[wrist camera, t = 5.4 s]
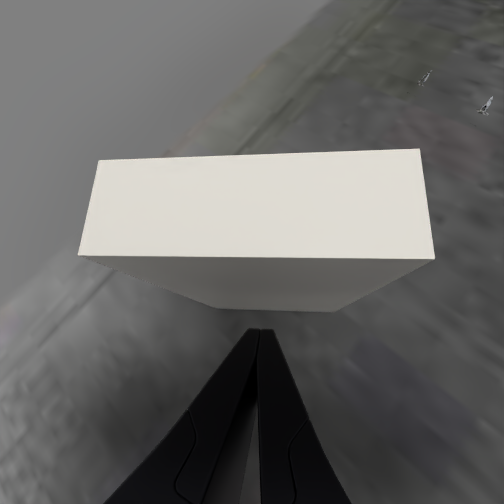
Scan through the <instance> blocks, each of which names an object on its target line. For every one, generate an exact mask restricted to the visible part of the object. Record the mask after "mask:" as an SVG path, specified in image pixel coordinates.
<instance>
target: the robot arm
mask: <svg viewBox="0 0 504 504" xmlns="http://www.w3.org/2000/svg"><path fill="white" fill-rule="evenodd" d="M257 403H258V433H259V462H260V492H261V504H351V502H350V500H349V499H348V497H347V495H346V493H345V491H344V489H343V488H342V486H341V484H340V482H339V480H338V478H337V477H336V475H335V473H334V471H333V469H332V467H331V465H330V463H329V461H328V459H327V457H326V455H325V453H324V451H323V449H322V446H321V444H320V442H319V440H318V437H317V435H316V433H315V430H314V428H313V425H312V423H311V421H310V420H309V416H308V413H307V411H306V408H305V406H304V404H303V401H302V399H301V396H300V394H299V391H298V389H297V386H296V384H295V381H294V379H293V376H292V374H291V371H290V369H289V366H288V364H287V362H286V359H285V357H284V354H283V352H282V349H281V347H280V344H279V342H278V339H277V337H276V334H275V332H274V330H273V329H261V330H260V329H259V328H249V329H247V331H246V332H245V333H244V335H243V336H242V337H241V338H240V340H239V341H238V342H237V344H236V345H235V346H234V348H233V349H232V350H231V352H230V353H229V354H228V356H227V357H226V358H225V360H224V361H223V362H222V363H221V365H220V366H219V367H218V369H217V370H216V371H215V373H214V374H213V375H212V377H211V378H210V379H209V381H208V382H207V383H206V384H205V386H204V387H203V388H202V390H201V391H200V392H199V394H198V395H197V396H196V398H195V399H194V400H193V402H192V403H191V404H190V406H189V407H188V410H186V411H185V412H184V413H183V415H182V416H181V417H180V419H179V420H178V421H177V422H176V424H175V425H174V426H173V427H172V429H171V430H170V431H169V432H168V434H167V435H166V436H165V437H164V438H163V440H162V441H161V442H160V443H159V444H158V445H157V446H156V447H155V448H154V450H153V451H152V452H151V453H150V454H149V455H148V456H147V457H146V458H145V459H144V461H143V462H142V463H141V464H140V465H139V466H138V467H137V468H136V469H135V470H134V471H133V472H132V473H131V475H130V476H129V477H128V478H127V479H126V480H125V481H124V482H123V483H122V484H121V485H120V486H119V487H118V489H117V490H116V491H115V492H114V493H113V494H112V495H111V496H110V497H109V498H108V499H107V500H106V501H105V502H104V503H103V504H239V499H240V494H241V489H242V483H243V478H244V473H245V467H246V462H247V457H248V451H249V446H250V441H251V435H252V430H253V425H254V420H255V414H256V409H257Z"/></svg>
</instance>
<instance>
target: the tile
mask: <svg viewBox="0 0 504 504" xmlns="http://www.w3.org/2000/svg"><path fill="white" fill-rule="evenodd" d="M78 256H81V257H83V258H86V259H89V260H91V261H94V262H96V263H99V264H102V265H104V266H107V267H109V268H112V269H115V270H117V271H120V272H122V273H125V274H128V275H130V276H133V277H135V278H138V279H141V280H143V281H146V282H148V283H151V284H154V285H156V286H159V287H161V288H164V289H167V290H169V291H172V292H174V293H177V294H180V295H182V296H185V297H187V298H190V299H193V300H195V301H198V302H200V303H203V304H206V305H208V306H211V307H213V308H219V309H248V310H278V311H307V312H335V311H337V310H339V309H341V308H343V307H345V306H346V305H348V304H350V303H352V302H354V301H356V300H358V299H360V298H362V297H364V296H365V295H367V294H369V293H371V292H373V291H375V290H377V289H379V288H381V287H383V286H385V285H386V284H388V283H390V282H392V281H394V280H396V279H398V278H400V277H402V276H404V275H406V274H407V273H409V272H411V271H413V270H415V269H417V268H419V267H421V266H423V265H425V264H427V263H428V262H430V261H432V260H434V259H435V256H434V248H433V241H432V234H431V227H430V220H429V213H428V206H427V199H426V192H425V184H424V177H423V170H422V163H421V156H420V149H400V150H373V151H345V152H317V153H289V154H262V155H234V156H206V157H179V158H151V159H125V160H124V159H123V160H99V163H98V167H97V172H96V176H95V181H94V185H93V190H92V194H91V199H90V203H89V208H88V212H87V217H86V221H85V226H84V230H83V235H82V239H81V244H80V248H79V253H78Z"/></svg>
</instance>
